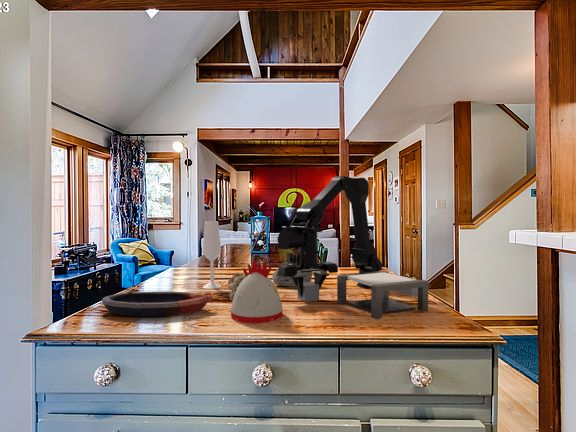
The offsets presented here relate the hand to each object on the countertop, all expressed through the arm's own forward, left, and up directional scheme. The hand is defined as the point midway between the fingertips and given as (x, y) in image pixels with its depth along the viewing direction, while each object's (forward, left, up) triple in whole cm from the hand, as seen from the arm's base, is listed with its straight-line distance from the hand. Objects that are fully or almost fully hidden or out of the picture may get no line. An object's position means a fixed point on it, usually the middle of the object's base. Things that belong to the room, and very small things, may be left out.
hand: (308, 296), depth 124 cm
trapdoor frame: (-15, +17, -1) cm, 23 cm away
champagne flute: (+23, -32, -1) cm, 39 cm away
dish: (+45, -6, -2) cm, 45 cm away
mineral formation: (+17, -12, -1) cm, 20 cm away
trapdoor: (-17, +17, +3) cm, 24 cm away
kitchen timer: (+21, +10, -1) cm, 23 cm away
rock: (-5, -22, -1) cm, 23 cm away
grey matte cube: (0, 0, -1) cm, 1 cm away
